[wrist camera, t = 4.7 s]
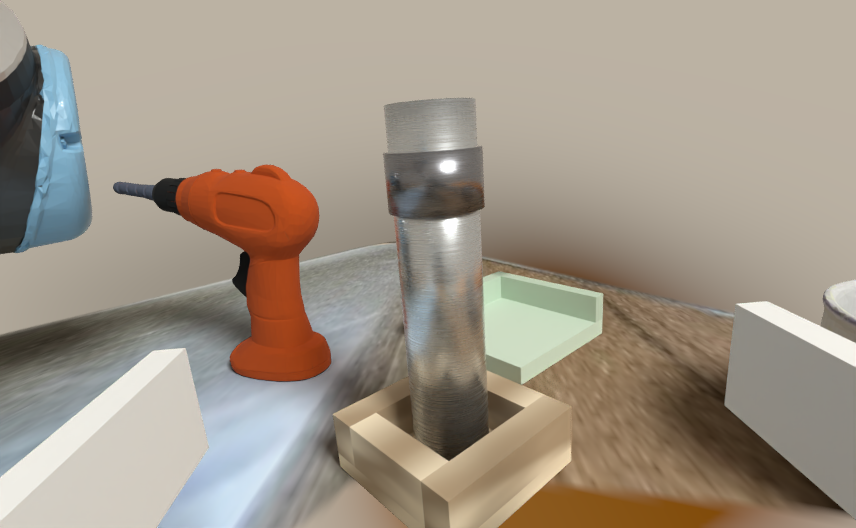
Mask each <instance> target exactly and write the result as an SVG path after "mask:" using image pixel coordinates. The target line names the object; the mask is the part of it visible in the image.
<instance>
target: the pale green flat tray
mask: <svg viewBox="0 0 856 528" xmlns="http://www.w3.org/2000/svg"><path fill="white" fill-rule="evenodd" d="M483 296H484V320H485V344H486V368H487V371H490V372H492V373H494V374H497V375H499V376H501V377H504V378H506V379H508V380H511V381H513V382H516V383H518V384H520V385H522V384H524V383H525V382H527V381H528V380H530V379H531V378H533V377H534V376H536V375H538V374H539V373H541V372H542V371H544V370H545V369H547V368H548V367H550V366H552V365H553V364H555V363H556V362H558V361H559V360H561V359H562V358H564V357H566V356H567V355H569V354H570V353H572V352H573V351H575V350H576V349H578V348H580V347H581V346H583V345H584V344H586V343H587V342H589V341H590V340H592V339H594V338H595V337H597V336H598V335H600V334H601V333H602V314H603V294H602V293H597V292H593V291H588V290H583V289H579V288H574V287H569V286H565V285H560V284H555V283H551V282H546V281H541V280H537V279H532V278H527V277H523V276H518V275H513V274H509V273H504V272H496V273H494V274H491V275H488V276H486V277H483Z"/></svg>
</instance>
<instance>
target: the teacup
mask: <svg viewBox="0 0 856 528" xmlns="http://www.w3.org/2000/svg"><path fill="white" fill-rule="evenodd" d="M823 303H824V313H823V317H822V322H821V327H823V328H825V329H827V330H829V331H831V332H833V333H836V334H838V335H840V336H842V337H844V338H846V339H848V340H850V341H852V342H855V343H856V280H850V281H845V282H841V283H838V284H836V285H833V286H830V287H829V288H828V289H827V290H826V291H825V292H824V295H823Z"/></svg>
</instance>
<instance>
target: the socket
mask: <svg viewBox="0 0 856 528" xmlns="http://www.w3.org/2000/svg"><path fill="white" fill-rule="evenodd" d="M487 392H488V416H489V434H487V435H486V436H484V437H483V438H482V439H480V440H479V441H477V442H476V443H474V444H473V445H472V446H470V447H469V448H467V449H466V450H464V451H463V452H462V453H460V454H459V455H457V456H456V457H454V458H453V459H452V460H450V461H448V460H446V459H445V458H443V457H442V456H440V455H439V454H437V453H436V452H434V451H433V450H431V449H430V448H428V447H427V446H425V445H424V444H422V443H421V442H419V441H418V440H416V439H415V438H414V430H413V419H412V408H411V397H410V386H409V376H408V377H406V378H404V379H402V380H400V381H398V382H396V383H394V384H392V385H390V386H388V387H386V388H384V389H382V390H380V391H378V392H376V393H374V394H372V395H370V396H368V397H366V398H364V399H362V400H360V401H358V402H356V403H354V404H352V405H350V406H348V407H346V408H344V409H342V410H340V411H338V412H336V413H334V414H333V420H334V427H335V433H336V440H337V447H338V453H339V460H340V467H342V468H343V469H344V470H345V471H346V472H347V473H348V474H349V475H350V476H352V477H353V478H354V479H355V480H356V481H357V482H358V483H359V484H360V485H362V486H363V487H364V488H365V489H366V490H367V491H368V492H369V493H370V494H372V495H373V496H374V497H375V498H376V499H377V500H378V501H379V502H380V503H382V504H383V505H384V506H385V507H386V508H387V509H388V510H389V511H390V512H392V513H393V514H394V515H395V516H396V517H397V518H398V519H399V520H401V521H402V522H403V523H404V524H405V525H406V526H407V527H408V528H498V527H499V526H500V525H501V524H502V523H503V522H504V521H505V520H507V519H508V518H509V517H510V516H511V515H512V514H513V513H514V512H515V511H516V510H518V509H519V508H520V507H521V506H522V505H523V504H524V503H525V502H526V501H527V500H529V499H530V498H531V497H532V496H533V495H534V494H535V493H536V492H537V491H538V490H540V489H541V488H542V487H543V486H544V485H545V484H546V483H547V482H548V481H549V480H551V479H552V478H553V477H554V476H555V475H556V474H557V473H558V472H559V471H561V470H562V469H563V468H564V467H565V466H566V465H567V464H568V463H569V462H570V461H571V415H572V406H570V405H567V404H565V403H563V402H560V401H558V400H555V399H553V398H551V397H548V396H546V395H544V394H541V393H539V392H537V391H534V390H532V389H530V388H527V387H525V386H523V385H520V384H518V383H516V382H513V381H511V380H508V379H506V378H504V377H501V376H499V375H497V374H494V373H492V372H490V371H487Z"/></svg>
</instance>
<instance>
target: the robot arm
mask: <svg viewBox="0 0 856 528" xmlns="http://www.w3.org/2000/svg"><path fill="white" fill-rule="evenodd" d="M81 138H82V137H81V132H80V126H79V117H78V110H77V104H76V98H75V92H74V86H73V79H72V73H71V68H70V63H69V59H68V57H67V56H66V55H65V54H64V53H63V52H61V51H59V50H56V49H50V48H47V47H45V46H42V45H36V46H31V47H30V45H29V42H28V39H27V37H26V34H25V31H24V29H23V27H22V25H21V23H20V21H19V20H18V18H17V17H16V15H15V14H14V12H13V11H12V10H11V9H10V8H9V7H8V6H7V5H6V4H4V3H3V2H2V1H0V254H5V253H12V252H13V253H20V252H24V251H26V250H27V249H29V248H32V247H38V246H42V245H48V244H53V243H58V242H63V241H68V240H72V239H74V238H77V237H78V236H80V235H82V234H83V233H84V232H85V231H86V230H87V229H88V227H89V226H90V224H91V220H92V207H91V199H90V192H89V184H88V177H87V171H86V164H85V158H84V152H83V146H82V140H81ZM724 405H725V406H726V407H727V408H728V409H729V410H730V411H731V412H733V413H734V414H735V415H736V416H737V417H738V418H739V419H741V420H742V421H743V422H744V423H745V424H746V425H747V426H749V427H750V428H751V429H752V430H753V431H754V432H756V433H757V434H758V435H759V436H760V437H761V438H762V439H764V440H765V441H766V442H767V443H768V444H769V445H770V446H772V447H773V448H774V449H775V450H776V451H777V452H778V453H780V454H781V455H782V456H783V457H784V458H785V459H786V460H788V461H789V462H790V463H791V464H792V465H793V466H794V467H796V468H797V469H798V470H799V471H800V472H801V473H802V474H804V475H805V476H806V477H807V478H808V479H809V480H811V481H812V482H813V483H814V484H815V485H816V486H817V487H819V488H820V489H821V490H822V491H823V492H824V493H825V494H827V495H828V496H829V497H830V498H831V499H832V500H833V501H835V502H836V503H837V504H838V505H839V506H840V507H841V508H843V509H844V510H845V511H846V512H847V513H848V514H849V515H851V516H852V517H853V518H854V519H855V520H856V343H855V342H852V341H850V340H848V339H846V338H844V337H842V336H840V335H838V334H836V333H833V332H831V331H829V330H827V329H825V328H823V327H821V326H818V325H816V324H814V323H812V322H810V321H808V320H806V319H804V318H802V317H799V316H797V315H795V314H793V313H791V312H789V311H787V310H785V309H783V308H780V307H778V306H776V305H774V304H772V303H770V302H768V301H767V302H754V303H743V304H742V303H741V304H736V305H735V314H734V323H733V332H732V341H731V350H730V359H729V367H728V376H727V385H726V394H725V403H724ZM208 448H209V445H208V441H207V437H206V433H205V428H204V424H203V420H202V416H201V411H200V407H199V403H198V399H197V395H196V390H195V386H194V382H193V378H192V373H191V369H190V365H189V361H188V356H187V352H186V348H181V349H168V350H156V351H152V352H151V353H150V354H149V355H147V356H146V357H145V358H144V359H142V360H141V361H140V362H139V363H138V364H136V365H135V366H134V367H133V368H132V369H130V370H129V371H128V372H127V373H126V374H124V375H123V376H122V377H121V378H120V379H118V380H117V381H116V382H115V383H114V384H112V385H111V386H110V387H109V388H108V389H106V390H105V391H104V392H103V393H101V394H100V395H99V396H98V397H97V398H95V399H94V400H93V401H92V402H91V403H89V404H88V405H87V406H86V407H85V408H83V409H82V410H81V411H80V412H79V413H77V414H76V415H75V416H74V417H73V418H71V419H70V420H69V421H68V422H66V423H65V424H64V425H63V426H62V427H60V428H59V429H58V430H57V431H56V432H54V433H53V434H52V435H51V436H50V437H48V438H47V439H46V440H45V441H44V442H42V443H41V444H40V445H39V446H38V447H36V448H35V449H34V450H33V451H32V452H30V453H29V454H28V455H27V456H25V457H24V458H23V459H22V460H21V461H19V462H18V463H17V464H16V465H15V466H13V467H12V468H11V469H10V470H9V471H7V472H6V473H5V474H4V475H3V476H1V477H0V528H157V526H158V525H159V523H160V522H161V520H162V519H163V517H164V515H165V514H166V512H167V511H168V509H169V508H170V506H171V505H172V503H173V502H174V500H175V499H176V497H177V496H178V494H179V493H180V491H181V490H182V488H183V486H184V485H185V483H186V482H187V480H188V479H189V477H190V476H191V474H192V473H193V471H194V470H195V468H196V467H197V465H198V464H199V462H200V461H201V459H202V457H203V456H204V454H205V453H206V451H207V450H208Z"/></svg>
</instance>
